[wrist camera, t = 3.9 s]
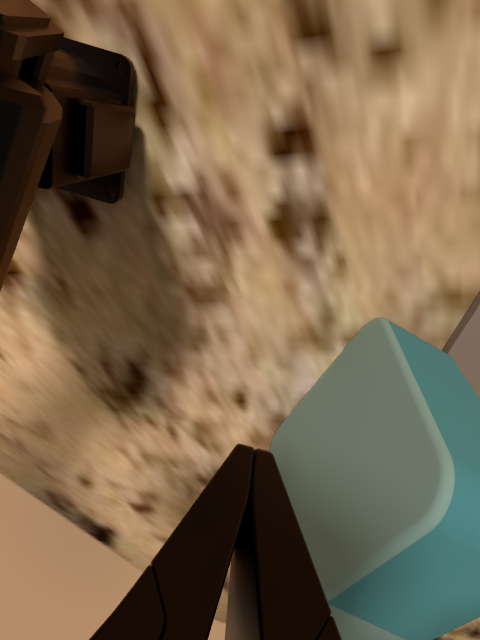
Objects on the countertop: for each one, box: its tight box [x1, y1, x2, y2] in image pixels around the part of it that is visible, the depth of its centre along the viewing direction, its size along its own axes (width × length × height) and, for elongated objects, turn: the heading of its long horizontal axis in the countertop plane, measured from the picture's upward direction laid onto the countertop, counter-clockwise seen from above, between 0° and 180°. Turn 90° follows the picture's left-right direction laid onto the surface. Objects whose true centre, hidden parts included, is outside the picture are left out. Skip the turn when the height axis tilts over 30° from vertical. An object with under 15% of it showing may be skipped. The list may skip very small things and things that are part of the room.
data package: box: [269, 318, 480, 640], centre depth 18 cm, size 12×4×12 cm, turn 152°
